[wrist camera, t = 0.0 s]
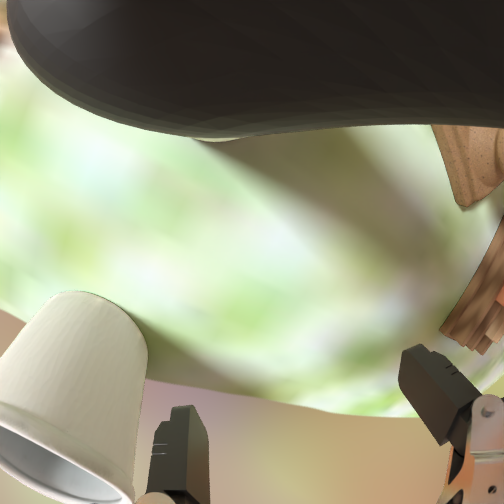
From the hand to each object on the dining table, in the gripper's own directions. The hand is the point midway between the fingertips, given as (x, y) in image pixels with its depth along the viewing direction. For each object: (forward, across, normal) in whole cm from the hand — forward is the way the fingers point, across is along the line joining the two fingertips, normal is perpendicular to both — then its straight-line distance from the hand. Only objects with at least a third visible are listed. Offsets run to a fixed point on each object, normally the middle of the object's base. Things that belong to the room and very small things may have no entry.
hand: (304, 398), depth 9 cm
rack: (+18, -35, +13) cm, 42 cm away
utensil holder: (+18, +19, +6) cm, 27 cm away
